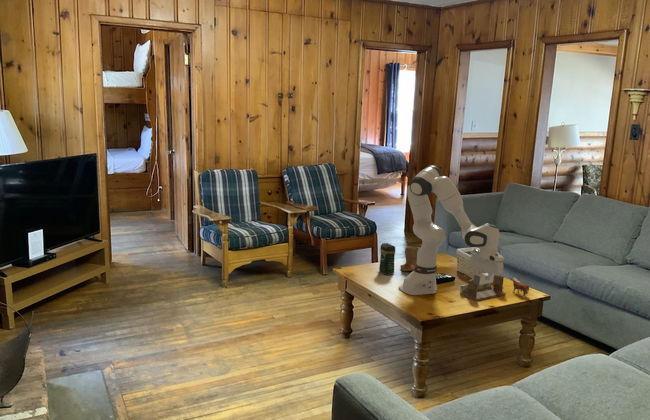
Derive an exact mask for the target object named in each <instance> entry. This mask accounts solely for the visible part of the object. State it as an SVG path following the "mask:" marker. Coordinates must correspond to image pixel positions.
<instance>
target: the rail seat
mask: <svg viewBox="0 0 650 420" xmlns="http://www.w3.org/2000/svg"><path fill="white" fill-rule="evenodd" d="M504 277H505V276H503V275H500V276H496V275H495V277H494V282H493V286H492V283H487V284H482V285H477V284H475V283H473V282H474V279H472V278H470V279H468V283H466V284H461V285H460V290H459V291H460V292H459V294H460V295H461V296H463V297H465V298H467V299H469V300H471V301H474V302H479V301H483V300H489V299H492V298H497V297H504V296H506V292H504V291H503V288H504V287H503V286H504V279H505V278H504Z"/></svg>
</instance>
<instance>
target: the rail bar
mask: <svg viewBox="0 0 650 420" xmlns="http://www.w3.org/2000/svg"><path fill="white" fill-rule="evenodd" d="M488 275H489V274H488V273H483V274H477V275H474V282H473V283H475V284H477V285H482V284H487V283H491V284H494V277H495V275H493V274H492V276H491V277H490V280H486V276H488Z"/></svg>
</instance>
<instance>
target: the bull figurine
mask: <svg viewBox="0 0 650 420" xmlns="http://www.w3.org/2000/svg"><path fill="white" fill-rule="evenodd" d="M510 280H511V281H512V283H513V284H512V285H513V291H512V292H514V293H515V291H516V290H517V292H516V293H517V294H519V293H520V292H523V295H522V298H525V296H526V295H527V296H528V294H529V290H530V286H529V285H528V284H526V283H523V282H521V281H520V279H517V277H513V278H511V279H510ZM514 293H513V294H514Z"/></svg>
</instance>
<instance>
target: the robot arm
mask: <svg viewBox="0 0 650 420" xmlns="http://www.w3.org/2000/svg"><path fill="white" fill-rule="evenodd" d="M432 193H433V194H434V195H436V197H437V199H438V201H439V202H440V204H441V206H442V207H443V208H444V210H446V211H447V212H448V213H450V214H451V215H453V217H454V219H455V220H456V222H457V223H458V226H459V227H460V232H461V233H460V234H461V238H462V239H463V240H464V243H465V244H466V245H467V246H468V247H469V248H472V247H477V248H480V251H478V250H473V251H472V255H471V254H470V255H471V259H470V265H471V266H474V267H476V268H478V273H479V274H482V271H481V270H483V271H486V272H488V274H489V275H488V276H486V280H490V277H491V276H492V274H493V275H496V276H500V275H501V276H503V273H504V272H503V271H504V260H505V257H504V256H503V255H502V254H500V253H499V252H498V243H499V238H500V229H499V227H498V226H497V225H495V224H492V223H487V222H486V223H484V224H482V225H480V226H477V225H476V224H475V223H473V222H472V221H471V220H470V218H469V217H468V215H467V212H466V211H465V208H464V201H463V198H462V195H461V193H460V191H459V189H458V188H457V187H456V185H455V183H454V182H453V181H452V180H451V179H450V177H448V176H445V175H443V173H442V171H441V169H440V168H439V167H438V166H436V165H433V164H432V165H428V166H426V167H425V168H424V169H422V170H420V171H419V172H418V173H417V174H416V175H415V176H414V177H413V178H412V179H411V180H410V183H409V185H408V186H407V188H406V194H407V200H408V202H409V206H410V207H409V208H410V210H411V213H412V217H413V225H412V231H413V234H414V235H415V236H416V237H417V238H418V239H420V240H421V242H422V243H421V245H420V247H419V248H420V249H419V250H418V252H417V263H416V265H415V266H413V265H411V267H410V268H412V269H414V271H412V272H410V273H409V274H408V275H407V276H405V278H404V279H403V282H402V285H399V286H398V289H399V290H400V291H401V292H402V293H405V294H408V295H411V296H419V295H420V296H422V295H430V294H432V295H433V294H436V293H437V290H438V287H437V280H436V279H437V277H436V276H437V275H436V273H437V268H438V267H437V258H438V252H439V249H440V246H441V245H443V243H444V242H445V241H446V232H445V230H444V229H443V228H442V227H441V226H439V225H436V224H435V223H434V222H433V220H432V214H433V207H432V205H431V202H430V198H429V195H431V194H432Z"/></svg>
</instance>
